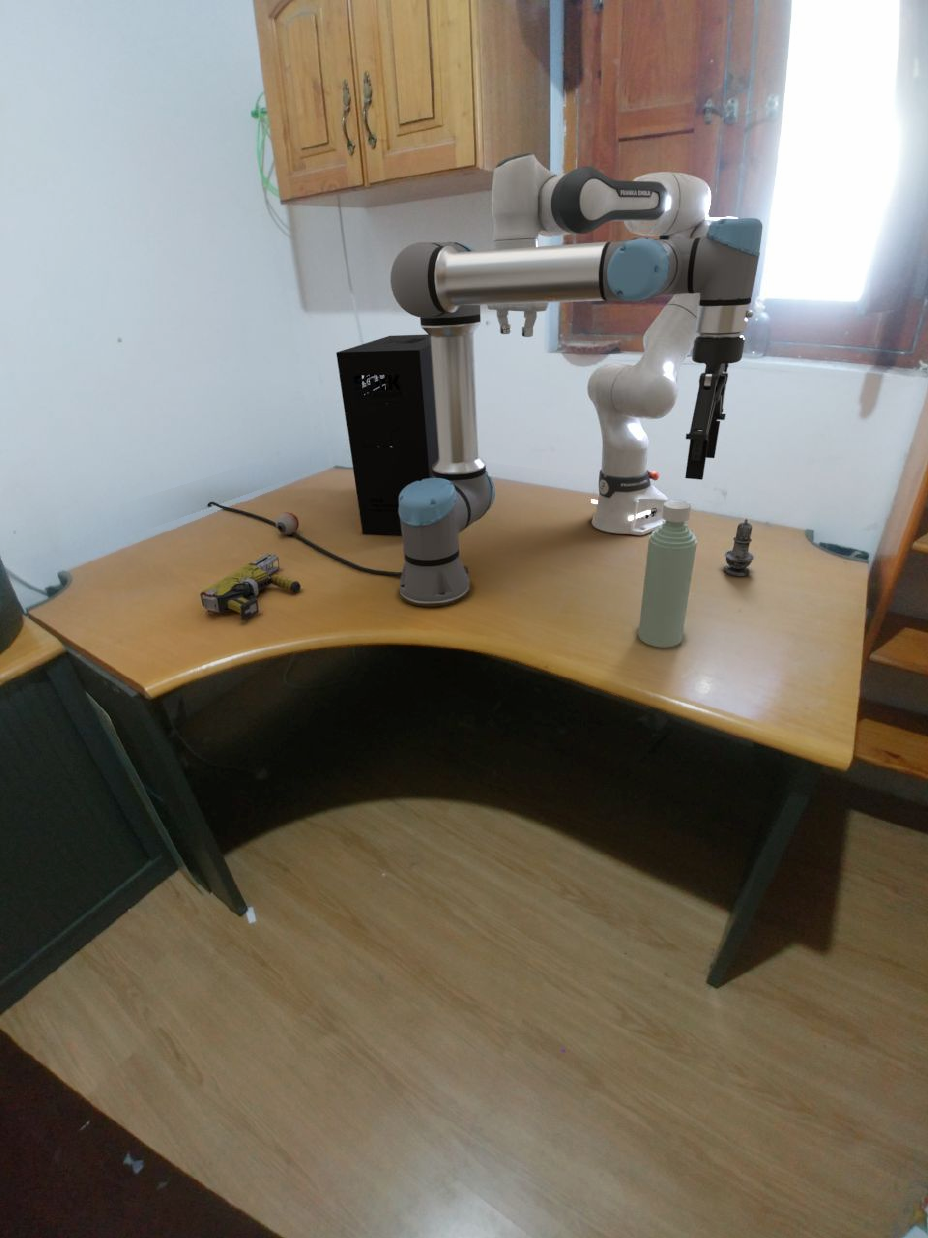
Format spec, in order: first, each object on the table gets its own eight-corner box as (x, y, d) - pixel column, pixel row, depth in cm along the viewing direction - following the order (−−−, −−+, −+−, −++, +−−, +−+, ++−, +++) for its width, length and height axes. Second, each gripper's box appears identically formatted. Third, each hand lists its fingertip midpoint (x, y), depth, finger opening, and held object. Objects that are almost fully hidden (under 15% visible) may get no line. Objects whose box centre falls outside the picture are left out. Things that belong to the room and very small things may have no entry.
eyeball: (273, 537, 164) (268, 516, 161) (287, 528, 169) (282, 508, 166) (291, 539, 161) (286, 518, 158) (305, 530, 166) (301, 510, 163)
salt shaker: (753, 577, 129) (764, 524, 123) (724, 576, 130) (734, 523, 124) (748, 565, 134) (758, 514, 128) (720, 564, 135) (729, 513, 129)
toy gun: (320, 562, 140) (265, 550, 144) (256, 606, 120) (194, 592, 124) (321, 580, 142) (267, 568, 146) (259, 627, 122) (198, 612, 126)
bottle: (682, 628, 113) (701, 500, 101) (681, 650, 107) (702, 516, 94) (639, 623, 115) (653, 497, 103) (636, 644, 109) (651, 513, 96)
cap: (689, 514, 101) (691, 500, 99) (689, 523, 97) (691, 509, 96) (662, 512, 102) (664, 499, 101) (661, 521, 98) (663, 508, 97)
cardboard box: (434, 536, 158) (419, 349, 136) (362, 533, 163) (336, 352, 140) (466, 490, 190) (458, 333, 167) (405, 489, 194) (389, 335, 172)
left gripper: (736, 344, 85) (712, 490, 95) (753, 326, 103) (732, 450, 114) (680, 344, 88) (663, 486, 98) (707, 327, 107) (690, 447, 117)
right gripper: (557, 254, 111) (556, 336, 118) (505, 258, 127) (506, 331, 134) (528, 255, 109) (527, 339, 116) (478, 260, 125) (481, 333, 132)
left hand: (700, 467), depth 106 cm, fingers open, 13 cm apart
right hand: (516, 335), depth 125 cm, fingers open, 8 cm apart
